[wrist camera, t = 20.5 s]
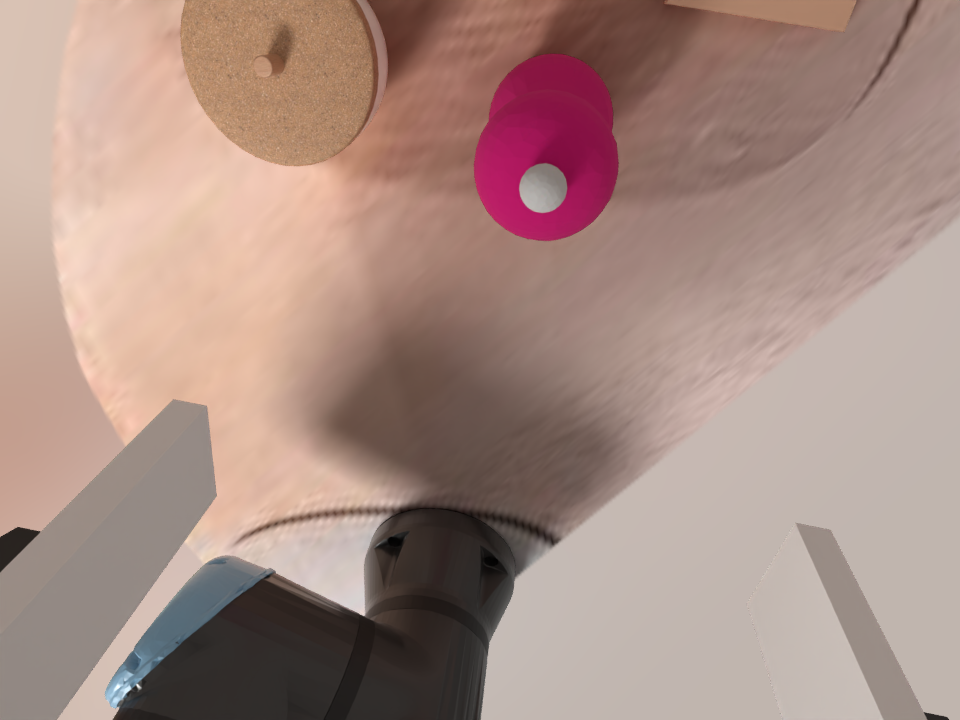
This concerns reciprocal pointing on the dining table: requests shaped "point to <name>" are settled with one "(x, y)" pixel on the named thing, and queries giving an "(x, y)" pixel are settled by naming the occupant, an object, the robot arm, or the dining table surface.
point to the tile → (781, 11)
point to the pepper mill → (547, 149)
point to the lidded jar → (286, 73)
